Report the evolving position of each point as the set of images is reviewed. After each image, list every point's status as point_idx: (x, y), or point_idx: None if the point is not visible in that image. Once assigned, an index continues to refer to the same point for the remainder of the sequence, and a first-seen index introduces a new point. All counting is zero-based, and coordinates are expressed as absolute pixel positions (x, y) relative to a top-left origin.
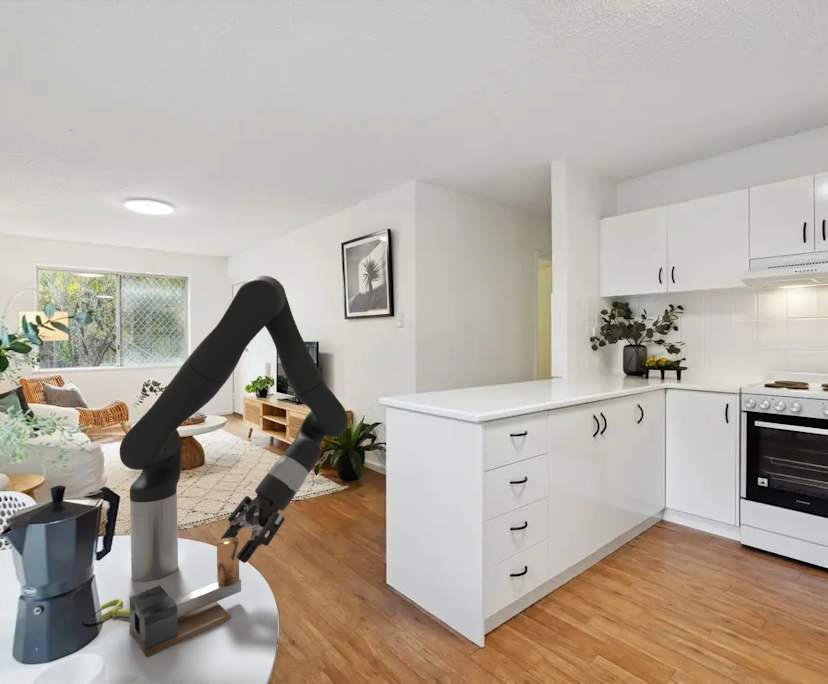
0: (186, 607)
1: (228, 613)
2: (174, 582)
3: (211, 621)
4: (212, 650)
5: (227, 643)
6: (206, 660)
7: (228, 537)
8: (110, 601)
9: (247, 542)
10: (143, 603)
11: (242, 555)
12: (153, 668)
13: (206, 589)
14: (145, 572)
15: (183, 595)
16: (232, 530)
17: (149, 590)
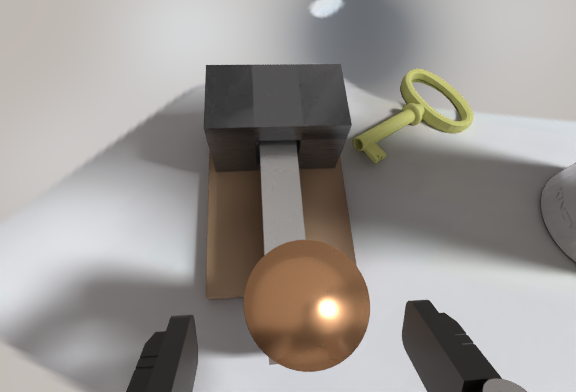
0: (261, 188)
1: (213, 296)
2: (503, 244)
3: (213, 248)
4: (124, 223)
5: (118, 258)
6: (102, 203)
7: (429, 354)
8: (468, 112)
9: (162, 388)
10: (278, 76)
11: (160, 337)
12: (169, 126)
13: (286, 242)
14: (561, 178)
15: (298, 182)
16: (454, 387)
17: (339, 100)
